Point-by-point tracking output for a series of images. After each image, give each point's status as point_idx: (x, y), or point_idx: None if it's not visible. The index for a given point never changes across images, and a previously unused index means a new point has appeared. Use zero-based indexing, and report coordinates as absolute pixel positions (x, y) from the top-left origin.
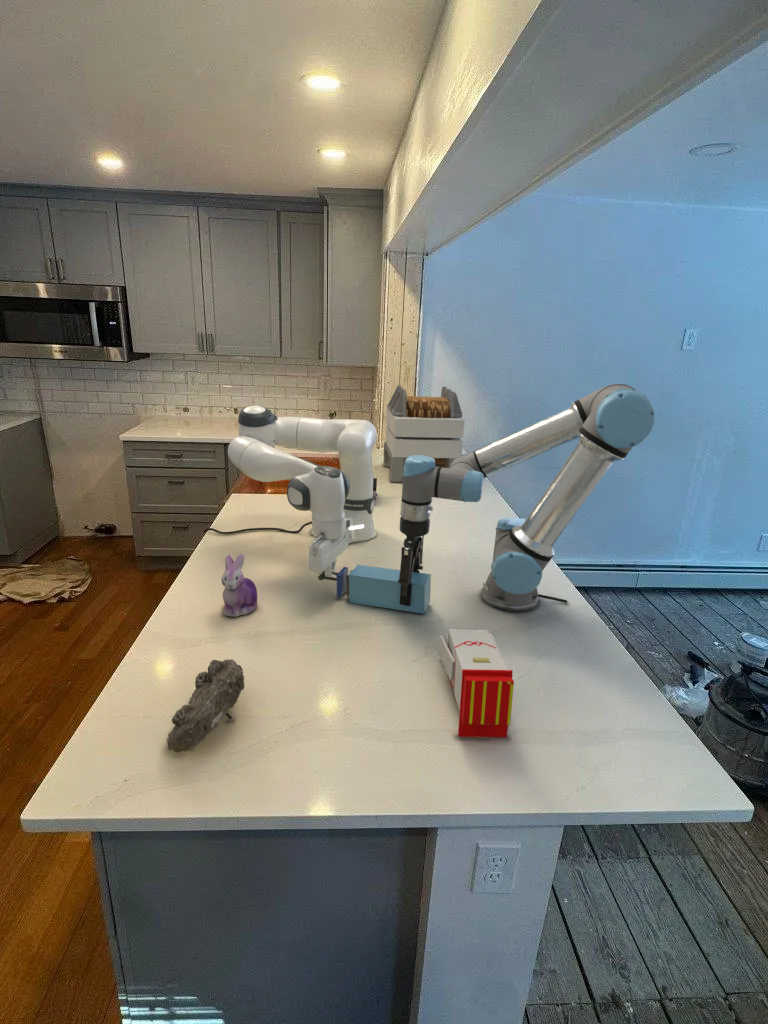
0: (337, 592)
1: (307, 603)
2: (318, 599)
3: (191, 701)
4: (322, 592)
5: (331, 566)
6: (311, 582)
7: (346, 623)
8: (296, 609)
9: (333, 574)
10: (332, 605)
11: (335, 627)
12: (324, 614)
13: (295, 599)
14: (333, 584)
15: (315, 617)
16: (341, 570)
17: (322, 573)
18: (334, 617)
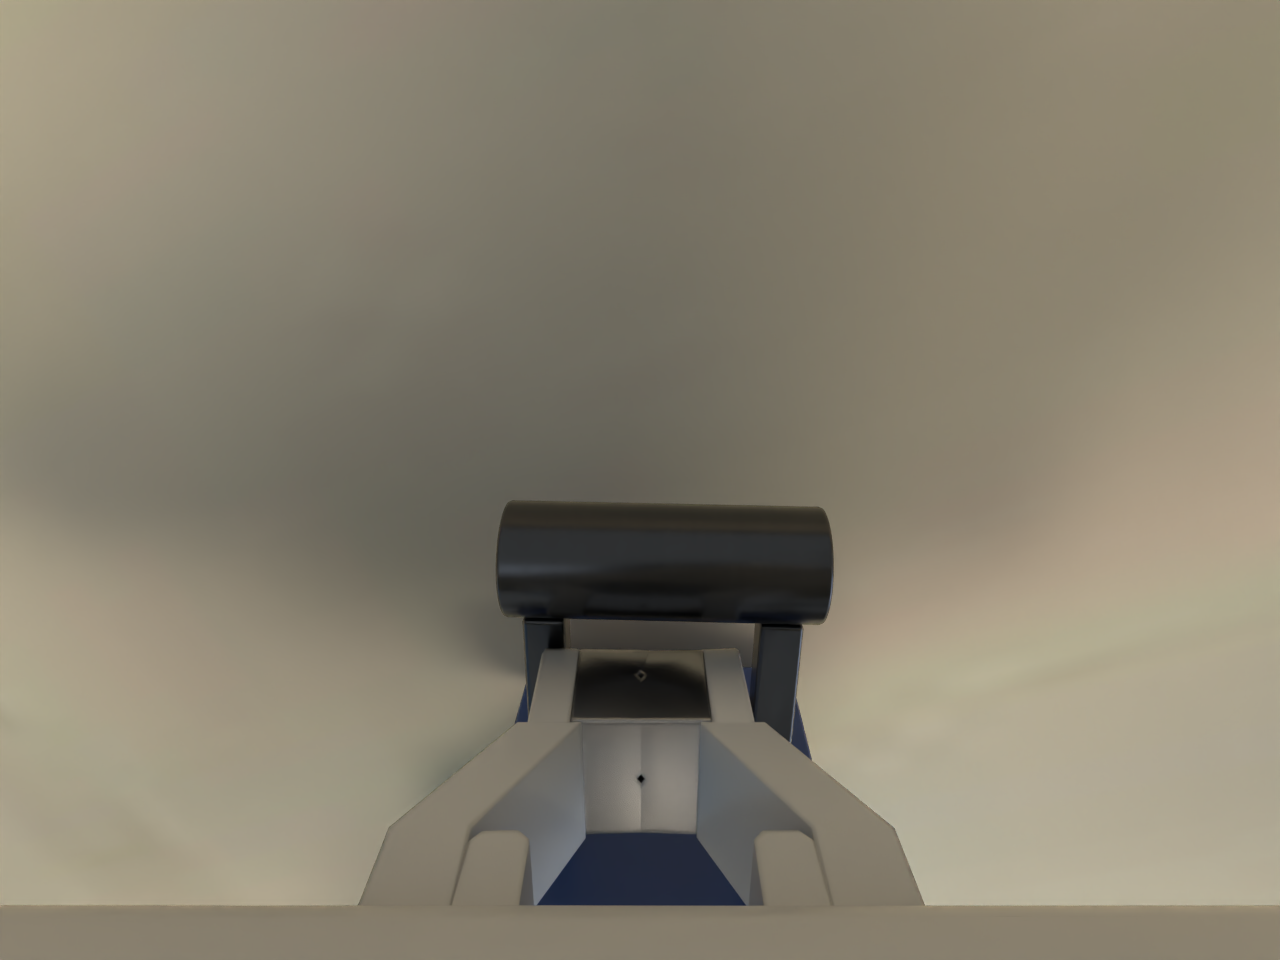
0: (523, 702)
1: (250, 369)
2: (418, 457)
3: None
4: (617, 434)
5: (719, 822)
6: (874, 144)
7: (149, 841)
8: (30, 298)
9: (750, 694)
10: (373, 645)
11: (27, 787)
12: (156, 635)
13: (248, 151)
14: (892, 484)
15: (41, 577)
16: None
17: (593, 592)
18: (170, 732)
